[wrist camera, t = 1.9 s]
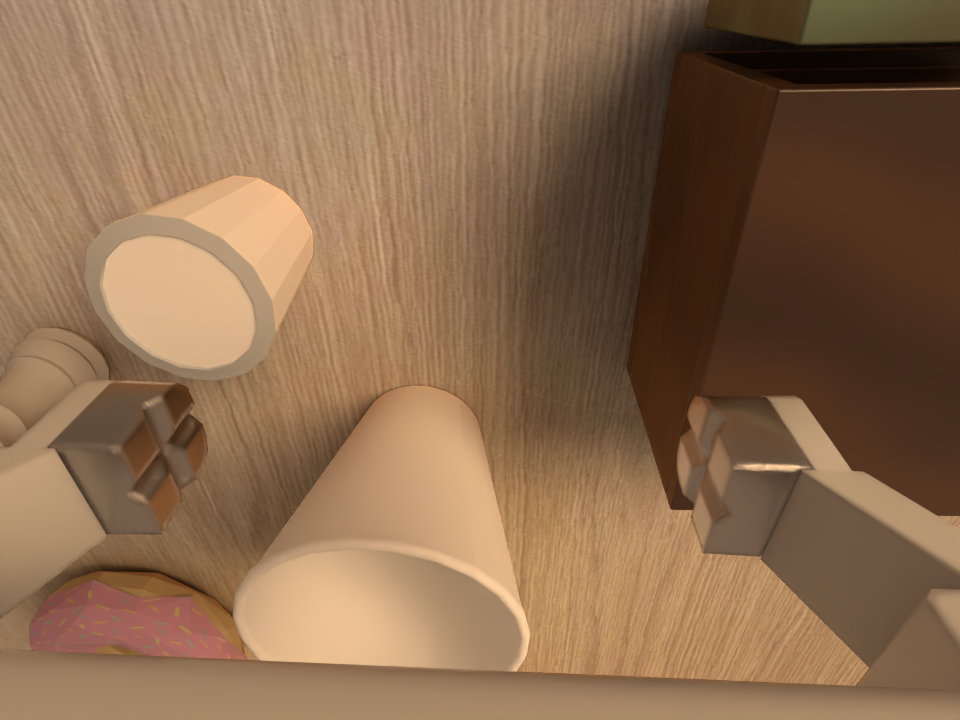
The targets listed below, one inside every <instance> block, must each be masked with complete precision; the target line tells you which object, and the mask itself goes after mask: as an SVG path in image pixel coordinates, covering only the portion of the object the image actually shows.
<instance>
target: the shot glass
mask: <svg viewBox="0 0 960 720" xmlns="http://www.w3.org/2000/svg"><path fill="white" fill-rule="evenodd" d="M313 255H314V249H313V234H312V230H311V228H310V226H309V224H308V222H307V220H306V218H305V215H304V213H303V211H302V209H301V208H300V207H299V206H298V205H297V204H296V203H295V202H294V201H293V200H292V199H291V198H290V197H289V196H288V195H287V194H286V193H285V192H284V191H283V190H281V189H279V188H277V187H275V186H273V185H271V184H269V183H267V182H265V181H264V180H262V179H260V178H253V177H245V176H237V175H233V176H230V177H227V178H224V179H221V180H217V181H214V182H211V183H209V184H206V185H204V186H201V187H199V188H197V189H194V190H192V191H189V192H187V193H184V194H182V195H179V196H177V197H174V198H172V199H169V200H167V201H164V202H162V203H160V204H157V205H155V206H152V207H150V208H147V209H145V210H142V211H140V212H137V213H135V214H132V215H130V216H127V217H125V218H123V219H120V220H118V221H115V222H113V223H110V224H108V225H107V226H106V227H105V229H104V230H103V231H102V232H101V233H100V234H99V235H98V236H97V238H96V239H95V240H94V241H93V242H92V243H91V244H90V246H89V247H88V251H87V258H86V264H85V271H84V281H85V284H86V287H87V290H88V293H89V296H90V299H91V302H92V306H93V309H94V311H95V312H96V314H97V315H98V316H99V318H100V319H101V320H102V322H103V323H104V324H105V326H106V327H107V328H108V329H109V331H110V332H111V333H112V335H113V336H114V337H115V339H116V340H117V341H118V342H120V343H121V344H122V345H124V346H125V347H126V348H128V349H129V350H130V351H132V352H133V353H134V354H136V355H137V356H138V357H139V358H141V359H142V360H143V361H145V362H146V363H148V364H150V365H152V366H155V367H157V368H160V369H162V370H165V371H167V372H169V373H172V374H174V375H177V376H179V377H182V378H191V379H199V380H208V381H218V380H223V379H227V378H231V377H236V376H240V375H244V374H245V373H247V372H248V371H249V370H251V369H252V368H253V367H254V366H256V365H257V364H258V363H259V362H261V361H262V360H263V359H264V358H266V356H267V354H268V351H269V349H270V347H271V345H272V343H273V341H274V339H275V337H276V335H277V333H278V331H279V329H280V326H281V324H282V322H283V320H284V318H285V316H286V314H287V312H288V310H289V308H290V306H291V303H292V301H293V299H294V297H295V295H296V293H297V291H298V289H299V287H300V285H301V283H302V281H303V278H304V276H305V274H306V272H307V270H308V267H309V265H310V262H311V260H312V257H313Z"/></svg>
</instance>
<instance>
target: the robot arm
mask: <svg viewBox="0 0 960 720" xmlns="http://www.w3.org/2000/svg"><path fill="white" fill-rule="evenodd" d="M193 405H194V401H193V399H192V397H191V394H190V392H189V390H188V388H187V387H186V386H183V385H181V384H179V383H165V382H143V381H122V380H120V381H115V380H88V381H84V382H80V383H78V384H77V385H76V386H75V387H74V388H73V389H72V390H71V391H70V392H69V393H68V394H67V395H65V396H64V397H63V398H62V399H61V400H60V401H59V402H58V403H57V404H56V405H55V406H54V407H52V408H51V409H50V410H49V411H48V412H47V413H46V414H45V415H44V416H43V417H42V418H41V419H39V420H38V421H37V422H36V423H35V424H34V425H33V426H32V427H31V428H30V429H29V430H28V431H26V432H25V433H24V434H23V435H22V436H21V437H20V438H19V439H18V440H17V441H16V442H15V443H13V444H12V445H11V446H10V447H0V619H1V618H2V617H3V616H5V615H6V614H7V613H9V612H10V611H11V610H12V609H14V608H15V607H16V606H18V605H19V604H20V603H22V602H23V601H24V600H26V599H27V598H28V597H29V596H31V595H32V594H33V593H35V592H36V591H37V590H39V589H40V588H41V587H43V586H44V585H45V584H47V583H48V582H49V581H50V580H52V579H53V578H54V577H56V576H57V575H58V574H60V573H61V572H62V571H64V570H65V569H66V568H67V567H69V566H70V565H71V564H73V563H74V562H75V561H77V560H78V559H79V558H81V557H82V556H83V555H84V554H86V553H87V552H88V551H90V550H91V549H92V548H94V547H95V546H96V545H98V544H99V543H100V542H102V541H103V540H104V539H105V538H107V534H162V532H163V531H164V529H165V528H166V526H167V525H168V523H169V521H170V520H171V518H172V517H173V515H174V514H175V512H176V510H177V509H178V507H179V506H180V504H181V503H182V501H183V500H182V496H181V492H180V489H182V488H184V487H185V486H187V485H188V484H190V483H191V482H193V481H194V480H196V479H197V477H198V475H199V474H200V472H201V470H202V468H203V467H204V464H205V459H206V455H207V451H208V445H207V435H206V432H205V430H204V427H203V424H202V423H200V422H199V421H198V420H197V419H196V418H194V417H193V416H192V415H191V414H189V413H190V411H191V409H192V407H193ZM687 418H688V420H689V423H690V425H691V429H690V430H689V431H687V432H686V433H685V434H684V435H682V436H681V438H680V443H679V447H678V451H677V473H678V479H679V483H680V486H681V489H682V493H683V495H684V496H686V497H687V498H688V499H689V500H690V501H692V502H693V503H694V504H695V505H694V508H693V511H692V514H691V519H692V522H693V525H694V528H695V531H696V534H697V537H698V540H699V542H700V545H701V548H702V551H703V553H710V554H726V555H743V556H759V557H762V558H761V560H762V561H763V562H764V563H765V564H766V565H767V566H768V567H769V568H770V569H771V570H772V571H773V572H774V573H775V574H776V575H777V576H778V577H779V578H780V579H781V580H782V581H783V582H784V583H785V584H786V585H787V586H788V587H789V588H790V589H791V590H792V591H793V592H794V593H795V594H796V595H797V596H798V597H799V598H800V599H801V600H802V601H803V602H804V603H805V604H806V605H807V606H808V607H809V608H810V609H811V610H812V611H813V612H814V613H815V614H816V615H817V616H818V617H819V618H820V619H821V620H822V621H823V622H824V623H825V624H826V625H827V626H828V627H829V628H830V629H831V630H832V631H833V632H834V633H835V634H836V635H837V636H838V637H839V638H840V639H841V640H842V641H843V642H844V643H845V644H846V645H847V646H848V647H849V648H850V649H851V650H852V651H853V652H854V653H855V654H856V655H857V656H858V657H859V658H860V659H861V660H862V661H863V662H864V663H865V664H866V665H867V666H868V667H869V669H868V670H867V671H866V672H865V674H864V675H863V676H862V678H861V679H860V680H859V681H858V683H857V684H856V685H855V686H843V685H820V684H797V683H774V682H751V681H728V680H705V679H682V678H659V677H635V676H612V675H589V674H565V673H542V672H519V671H495V670H472V669H448V668H425V667H402V666H379V665H355V664H332V663H309V662H285V661H262V660H239V659H216V658H192V657H170V656H147V655H124V654H101V653H78V652H55V651H32V650H9V649H0V720H960V529H959V528H957V527H955V526H954V525H952V524H950V523H949V522H947V521H945V520H944V519H942V518H940V517H939V516H937V515H935V514H934V513H932V512H930V511H929V510H927V509H925V508H924V507H922V506H920V505H918V504H917V503H915V502H913V501H912V500H910V499H908V498H907V497H905V496H903V495H902V494H900V493H898V492H897V491H895V490H893V489H892V488H890V487H888V486H887V485H885V484H883V483H882V482H880V481H878V480H877V479H875V478H873V477H872V476H870V475H868V474H867V473H865V472H860V471H852V470H851V468H850V467H849V466H848V464H847V463H846V461H845V460H844V458H843V457H842V456H841V454H840V453H839V451H838V450H837V449H836V447H835V446H834V444H833V443H832V442H831V440H830V439H829V437H828V436H827V434H826V433H825V432H824V430H823V429H822V427H821V426H820V425H819V423H818V422H817V420H816V419H815V417H814V416H813V415H812V413H811V412H810V410H809V409H808V408H807V406H806V405H805V403H804V402H803V401H802V400H801V399H799V398H798V397H796V396H760V397H742V396H694V398H693V400H692V401H691V403H690V406H689V409H688V413H687Z"/></svg>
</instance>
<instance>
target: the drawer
mask: <svg viewBox="0 0 960 720" xmlns="http://www.w3.org/2000/svg"><path fill="white" fill-rule="evenodd" d="M705 27H706V28H710V29H715V30H720V31H725V32H731V33H736V34H741V35H746V36H751V37H756V38H761V39H767V40H772V41H777V42H782V43H787V44H792V45H798V46H828V45H883V44H938V43H960V0H709V3H708V9H707V14H706V20H705ZM752 70H755V71H758V72H761V73H764V74H767V75H770V76H773V77H776V78H779V79H782V80H785V81H788V82H791V83H794V84H854V83H921V82H960V66H910V67H848V68H787V69H752Z"/></svg>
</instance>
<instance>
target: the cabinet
mask: <svg viewBox="0 0 960 720" xmlns="http://www.w3.org/2000/svg"><path fill="white" fill-rule="evenodd" d="M910 66H960V46H954V47H898V48H842V49H786V50H730V51H678V52H676V57H675V63H674V69H673V76H672V82H671V88H670V95H669V101H668V107H667V114H666V120H665V127H664V133H663V139H662V146H661V152H660V158H659V165H658V171H657V178H656V184H655V190H654V197H653V203H652V209H651V216H650V222H649V228H648V235H647V241H646V248H645V254H644V260H643V267H642V273H641V279H640V286H639V292H638V299H637V305H636V311H635V318H634V324H633V330H632V337H631V343H630V350H629V356H628V362H627V370H628V373H629V376H630V380H631V383H632V386H633V389H634V393H635V396H636V399H637V402H638V406H639V409H640V412H641V415H642V419H643V422H644V425H645V428H646V431H647V435H648V438H649V441H650V444H651V448H652V451H653V454H654V457H655V461H656V464H657V467H658V470H659V474H660V477H661V480H662V483H663V487H664V490H665V493H666V496H667V499H668V502H669V506H670V509H672V510H693V508H694V505H695V504H694V503H693V502H692V501H690V500H689V499H688V498H687V497H686V496H684V495H683V493H682V489H681V486H680V483H679V479H678V473H677V451H678V447H679V443H680V438H681V436H682V435H684V434H685V433H686V432H687V431H689V430H690V429H691V425H690V423H689V420H688V418H687V413H688V409H689V406H690V403H691V401H692V400H693V398H694V396H742V397H760V396H796V397H798V398H799V399H801V400H802V401H803V402H804V403H805V405H806V406H807V408H808V409H809V410H810V412H811V413H812V415H813V416H814V417H815V419H816V420H817V422H818V423H819V425H820V426H821V427H822V429H823V430H824V432H825V433H826V434H827V436H828V437H829V439H830V440H831V442H832V443H833V444H834V446H835V447H836V449H837V450H838V451H839V453H840V454H841V456H842V457H843V458H844V460H845V461H846V463H847V464H848V466H849V467H850V468H851V470H852V471H860V472H865V473H867V474H868V475H870V476H872V477H873V478H875V479H877V480H878V481H880V482H882V483H883V484H885V485H887V486H888V487H890V488H892V489H893V490H895V491H897V492H898V493H900V494H902V495H903V496H905V497H907V498H908V499H910V500H912V501H913V502H915V503H917V504H918V505H920V506H922V507H924V508H925V509H927V510H929V511H930V512H932V513H934V514H935V515H937V516H960V82H921V83H854V84H794V83H791V82H788V81H785V80H782V79H779V78H776V77H773V76H770V75H767V74H764V73H761V72H758V71H755V70H752V69H787V68H848V67H910Z"/></svg>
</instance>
